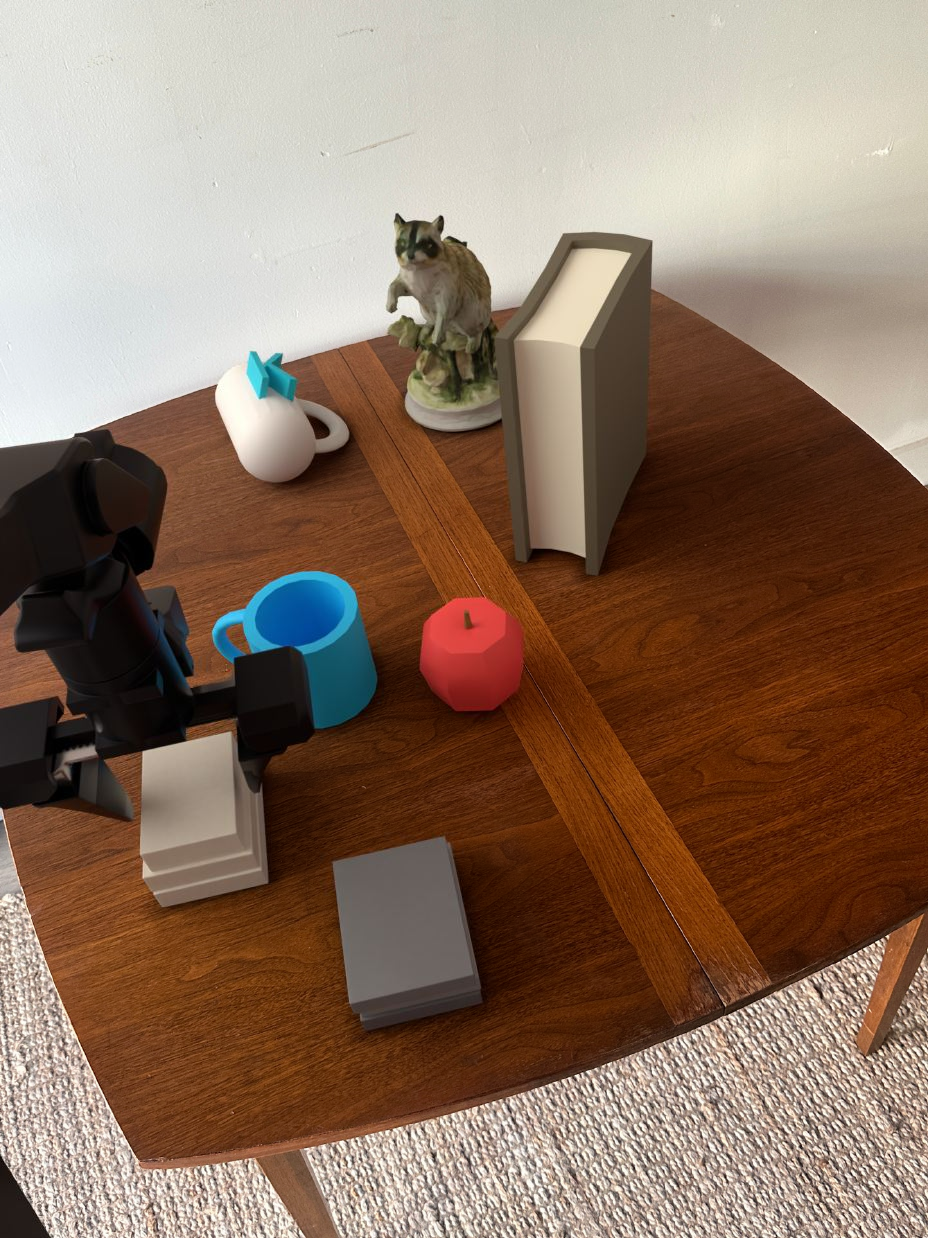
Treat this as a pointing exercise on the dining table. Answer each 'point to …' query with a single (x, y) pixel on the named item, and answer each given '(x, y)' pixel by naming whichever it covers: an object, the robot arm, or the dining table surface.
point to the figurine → (445, 329)
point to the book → (576, 393)
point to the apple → (472, 654)
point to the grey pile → (405, 934)
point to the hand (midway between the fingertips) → (194, 801)
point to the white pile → (218, 864)
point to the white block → (191, 802)
